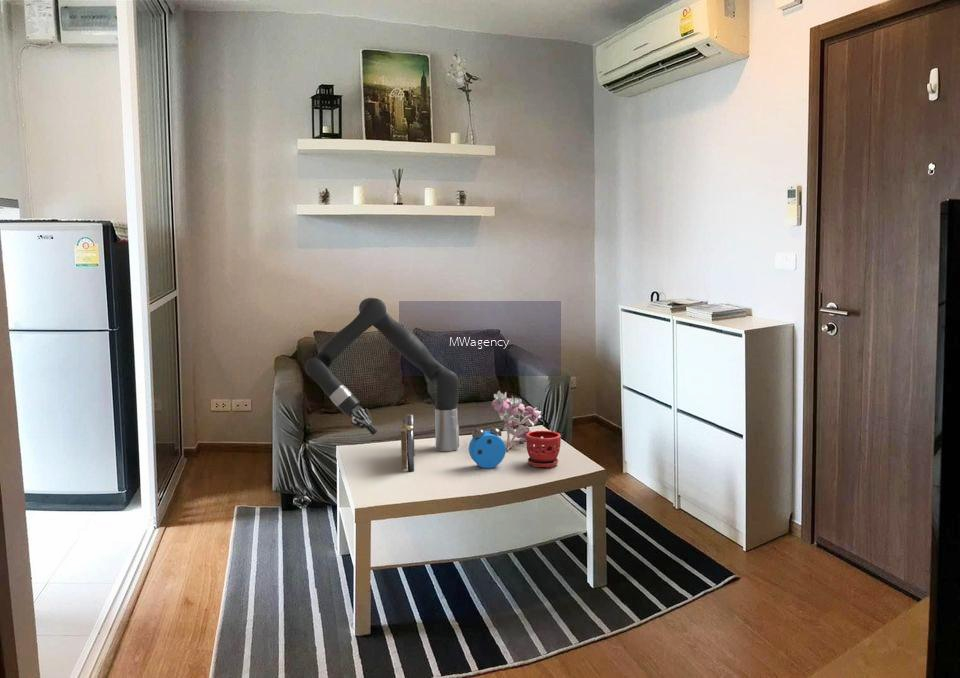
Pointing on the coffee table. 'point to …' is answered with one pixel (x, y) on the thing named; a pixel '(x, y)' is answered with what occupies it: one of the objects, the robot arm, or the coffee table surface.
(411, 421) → the hinge post
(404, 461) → the gate
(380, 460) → the coffee table surface
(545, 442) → the plant pot
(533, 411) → the flower
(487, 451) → the alarm clock
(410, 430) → the post
